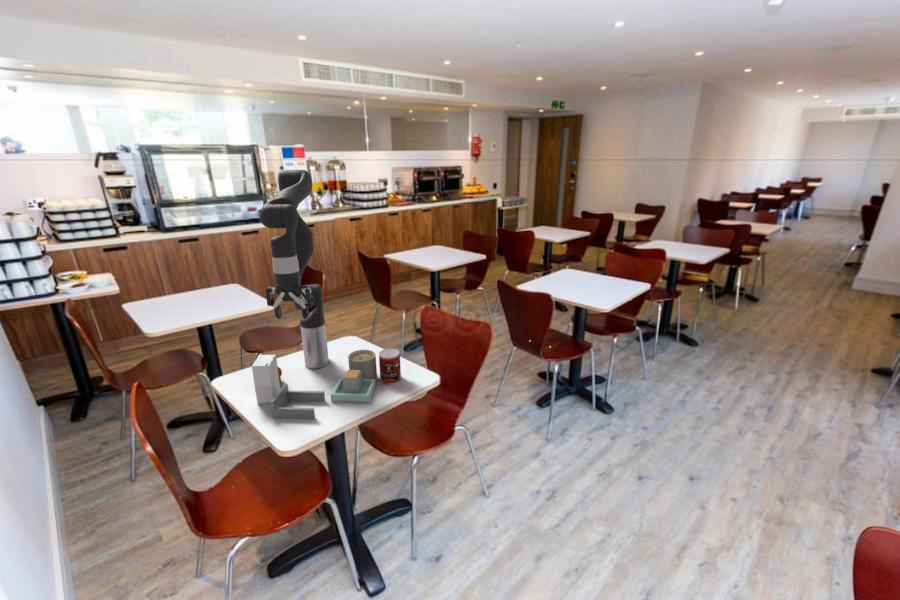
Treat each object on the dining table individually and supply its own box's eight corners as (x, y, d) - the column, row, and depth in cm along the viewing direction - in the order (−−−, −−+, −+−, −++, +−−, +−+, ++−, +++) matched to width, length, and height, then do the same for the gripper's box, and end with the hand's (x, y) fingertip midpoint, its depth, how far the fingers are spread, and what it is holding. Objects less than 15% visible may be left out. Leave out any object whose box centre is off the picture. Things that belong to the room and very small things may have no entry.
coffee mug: (380, 382, 156) (378, 358, 153) (353, 388, 152) (351, 363, 149) (370, 366, 168) (368, 344, 164) (345, 372, 163) (343, 348, 160)
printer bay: (286, 399, 145) (284, 384, 143) (325, 400, 145) (323, 384, 143) (272, 418, 135) (270, 401, 133) (314, 419, 134) (312, 403, 132)
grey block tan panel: (349, 387, 151) (347, 369, 149) (362, 388, 151) (361, 369, 149) (344, 396, 146) (342, 377, 143) (358, 397, 145) (357, 378, 143)
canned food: (379, 384, 155) (377, 357, 151) (381, 374, 162) (380, 348, 158) (399, 384, 155) (398, 357, 151) (401, 373, 162) (400, 348, 159)
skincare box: (264, 391, 150) (258, 354, 145) (281, 390, 150) (276, 353, 145) (256, 404, 142) (250, 365, 137) (275, 403, 142) (269, 364, 138)
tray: (340, 385, 154) (340, 378, 153) (375, 386, 153) (375, 379, 152) (331, 402, 143) (330, 394, 143) (369, 403, 143) (368, 395, 142)
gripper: (313, 267, 133) (318, 314, 139) (269, 266, 134) (276, 313, 139) (304, 273, 126) (310, 323, 132) (258, 272, 127) (265, 322, 132)
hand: (292, 318), depth 136 cm, fingers open, 8 cm apart
